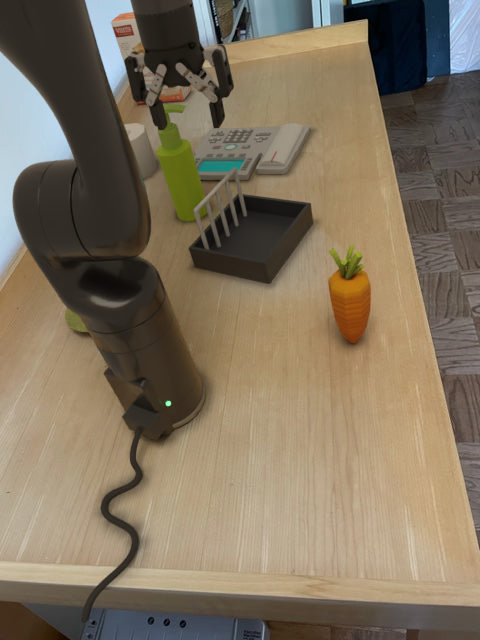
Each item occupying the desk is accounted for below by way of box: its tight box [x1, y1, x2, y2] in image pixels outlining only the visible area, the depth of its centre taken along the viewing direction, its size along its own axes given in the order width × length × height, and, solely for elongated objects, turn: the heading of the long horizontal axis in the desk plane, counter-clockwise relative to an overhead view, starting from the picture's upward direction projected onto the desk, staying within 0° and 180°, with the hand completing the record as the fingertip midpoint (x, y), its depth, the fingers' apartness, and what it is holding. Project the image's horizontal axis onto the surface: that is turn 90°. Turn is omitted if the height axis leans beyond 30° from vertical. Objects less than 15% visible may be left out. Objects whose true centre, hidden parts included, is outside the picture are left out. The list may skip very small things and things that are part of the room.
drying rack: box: [188, 167, 314, 285], centre depth 85 cm, size 16×14×10 cm
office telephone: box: [193, 122, 312, 181], centre depth 111 cm, size 23×3×20 cm
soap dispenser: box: [156, 103, 208, 223], centre depth 92 cm, size 6×7×20 cm
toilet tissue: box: [124, 122, 158, 180], centre depth 113 cm, size 9×13×9 cm
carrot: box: [327, 245, 372, 344], centre depth 64 cm, size 5×5×15 cm
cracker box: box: [110, 11, 192, 105], centre depth 136 cm, size 14×6×21 cm, turn 73°
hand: (190, 126), depth 77 cm, fingers open, 8 cm apart
